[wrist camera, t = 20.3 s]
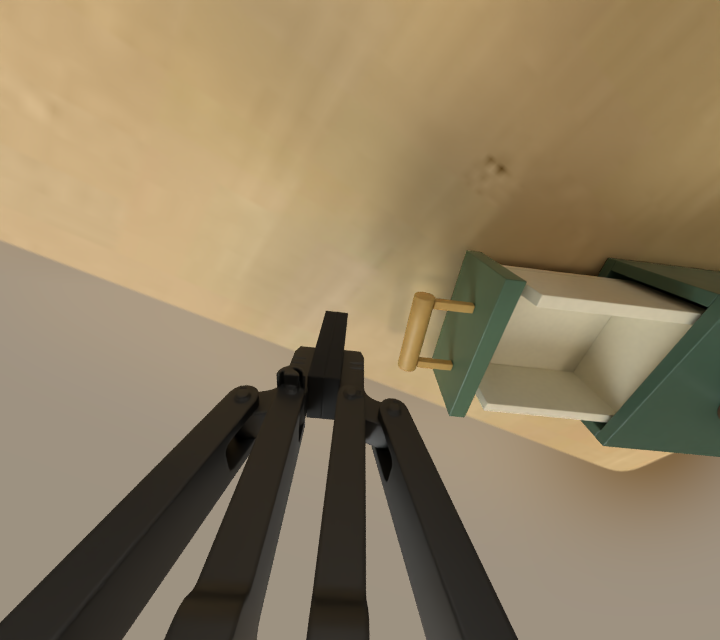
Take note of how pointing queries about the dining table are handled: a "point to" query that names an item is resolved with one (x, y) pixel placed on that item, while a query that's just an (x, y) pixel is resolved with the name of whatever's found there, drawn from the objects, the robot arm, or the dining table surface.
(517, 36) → the dining table surface
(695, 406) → the cabinet
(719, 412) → the pepper mill
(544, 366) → the drawer
